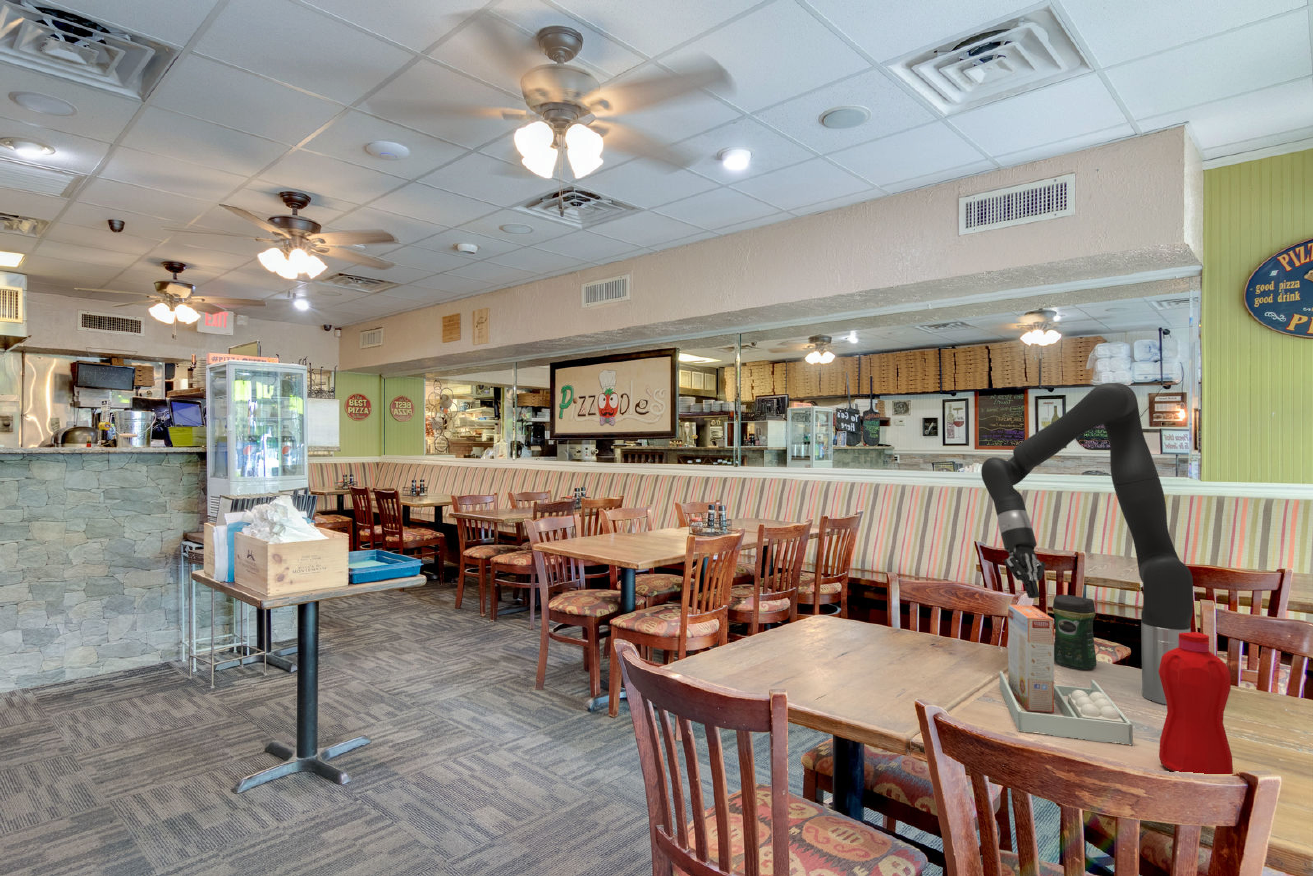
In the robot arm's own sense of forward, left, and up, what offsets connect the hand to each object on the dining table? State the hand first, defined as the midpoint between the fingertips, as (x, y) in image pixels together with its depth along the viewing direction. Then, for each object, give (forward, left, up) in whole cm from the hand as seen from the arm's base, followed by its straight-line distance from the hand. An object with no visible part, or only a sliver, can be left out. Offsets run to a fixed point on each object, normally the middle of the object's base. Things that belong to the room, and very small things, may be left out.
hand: (1034, 597), depth 171 cm
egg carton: (-7, +26, -22) cm, 34 cm away
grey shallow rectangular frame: (-1, +20, -21) cm, 29 cm away
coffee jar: (-13, -20, -22) cm, 32 cm away
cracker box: (+3, +14, -22) cm, 26 cm away
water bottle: (-18, +43, -22) cm, 51 cm away
